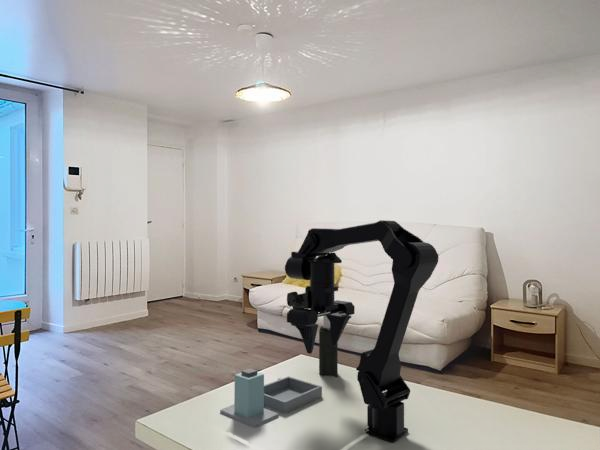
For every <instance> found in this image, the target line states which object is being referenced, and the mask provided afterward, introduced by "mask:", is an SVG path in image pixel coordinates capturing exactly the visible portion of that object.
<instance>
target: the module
mask: <svg viewBox="0 0 600 450" xmlns="http://www.w3.org/2000/svg"><path fill="white" fill-rule="evenodd" d="M264 385H265V374H264V373H261V372H258V370H256V369H253V368H247V369H243V370H241V372H239V373H236V374H234V404H233V405H234V412H236V413H238V414H240V415H243V416H245V417H247V418H249V417H252V416H254V415H256V414H258V413H261V412H263V411H264V408H265V406H264Z"/></svg>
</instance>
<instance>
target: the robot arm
mask: <svg viewBox="0 0 600 450" xmlns="http://www.w3.org/2000/svg"><path fill="white" fill-rule="evenodd" d="M373 242H379V243H380V244H381V246H382V249H383V250H384V252H385V253H386V255H387V256H388V257H389V258H390V259H391V260H392V263H391V273H392V279H393V286H392V291H391V294H390V297H389V300H388V303H387V306H386V310H385V314H384V316H383V320H382V323H381V326H380V328H379V329H380V330H379V332H378V334H377V335H378V336H377V339H376V341H375V345H374V348H372V349H370V350H367V351H363V352H361V355H360V359H359V364H358V366H356V370H355V371H357V375H356V376H357V382H358V384H359V388H360V391H361V396H362V399H363V403H364V404H365V405H367V407H366V408H367V416H366V417H367V419H366V420H367V423H366V425H367V428H365V429H364V431H365V434H368V435H371V436H373V437H376V438H379V439H382V440H385V441H387V442H390V443H394V442H396V441H398V440H399V439H401V437H403V436H404V435H406V434H407V433H409V428H407V427H405V402H403V401H406V400H408V399H409V396H410V394H411V389H410V387H409V386H408V384H407V383H406V382H405V380H404V378H402V376H401V375H400V374H401V368H402V363H401V360H400V355H399V354H400V350H401V347H402V344H403V342H404V338H405V335H406V333H407V328H408V326H409V322H410V319H411V316H412V314H413V311H414V308H415V307H414V306H415V304H416V300H417V298H418V295H419V292H420V290H421V288H422V287H423V286H424V285H425V284H426V283H427V282H428V281H429V279H430V278H431V276H432V275H433V273H434V271H435V269H436V268H437V265H438V263H439V254H438V252H437V250H436V248H435V247H434V246H433V245H432V244H430V243H429V242H425V241H423V239H421V238H419V236H417V235H415V234H413V233H412V232H410V231H409V230H407V229H405V228H404V227H403V226H402V225H401V224H399V223H398V222H397V221H395V220H383V219H382V220H378V221H376V222H372V223H365V224H361V225H354V226H349V227H348V226H347V227H344V228H324V227H323V228H321V227H318V228H315V227H314V228H309V230H308V231H307V234H306V236H305V238H304V240H303V242H302V244H301V246H300V247H299V249H298V251H291V252H290V253H291V254H290V255H291V256H290V257H288V259H287V260H286V262H285V265H284V271H285V274H286V276H287V277H288V278H290V279H294V280H295V279H296V280H303V281H309V285H307V286H305V291H304V292H302V293H298V292H297V291H291V292H288V293H287V294H286V304H287V306H288V307H292V308H291V309H289V310H288V311H287V312H286V323H290V325H291V326H293V327H295V328H296V329H297V330H298V331H299V333H300V337H301V338H302V342H303V345H304V348H305V351H306V353H307V354H309V355H311V354H312V353H313V350H314V347H315V342H316V337H317V333H318V327H319V324H318V323H317V322H318V318H321V317H323V316H325V315H326V316H327V318H328V320H329V321H330V330H331V342H332V345H334V346H336V345H337V343H338V342H339V340H340V339H341V336H342V334H343V332H344V330H345V327H346V326H347V324H348V322H349V320H350V319H352V315H354V314H355V305H354V304H353V302H352V301H345V300H335V292H338V291H339V286H338V285H335V264H342V262H343V261H342V259H341V258H340V257H338V255H337V253H336V252H337V251H340V250H343V249H344V248H345V247H348V246H351V245H352V246H353V245H358V244H359V245H361V244H365V243H367V244H368V243H373Z"/></svg>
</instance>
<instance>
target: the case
mask: <svg viewBox="0 0 600 450" xmlns="http://www.w3.org/2000/svg"><path fill="white" fill-rule="evenodd" d="M322 391H323V386H321V385H318V384H315V383H311V382H308V381H305V380H302V379H299V378H295V377H293V376H286V377H283V378H282V377H278V378H277V380H274V381H272V382H269V383H267V384H264V407H267V408H269V409H271V410H274V411H277V412H278V413H279V412H280V413H281V414H287V413H290V412H292V411H294V410H297V409H298V408H301V407H302V406H305V405H307V404H309V403H312V402H314V401H315V400H318V399H320V398H322V397H323V392H322Z"/></svg>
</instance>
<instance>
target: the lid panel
mask: <svg viewBox="0 0 600 450" xmlns="http://www.w3.org/2000/svg"><path fill="white" fill-rule="evenodd" d="M219 412H220V413H221V415H222V414H223V415H225V416H226V417H230V418H231V419H234V420H236V421H238V422H240V423H243V424H245V425H246V426H249V427H251V428H253V429H255V428H257V427H259V426H261V425H263V424H266V423H268V422H270V421H272V420H274V419H276V418H278V417H279V412H278V413H277V412H275V411H273V410H270V409H268V408H265V407H264V411H263V412H261V413H258V414H256V415H254V416H252V417H249V418H247V417H245V416H243V415H240V414H238V413H236V412H234V404H231V405H229V406H227V407H224V408H222V409H220V411H219Z"/></svg>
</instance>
